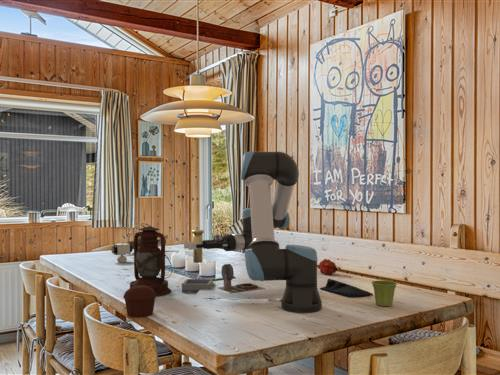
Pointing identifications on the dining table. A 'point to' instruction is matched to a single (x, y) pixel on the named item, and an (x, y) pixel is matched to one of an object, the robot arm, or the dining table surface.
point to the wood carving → (140, 239)
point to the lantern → (150, 261)
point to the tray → (196, 284)
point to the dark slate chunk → (344, 289)
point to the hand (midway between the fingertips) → (186, 246)
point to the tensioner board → (228, 276)
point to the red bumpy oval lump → (327, 267)
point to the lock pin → (197, 239)
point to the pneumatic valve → (121, 251)
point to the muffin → (140, 301)
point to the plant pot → (384, 292)
